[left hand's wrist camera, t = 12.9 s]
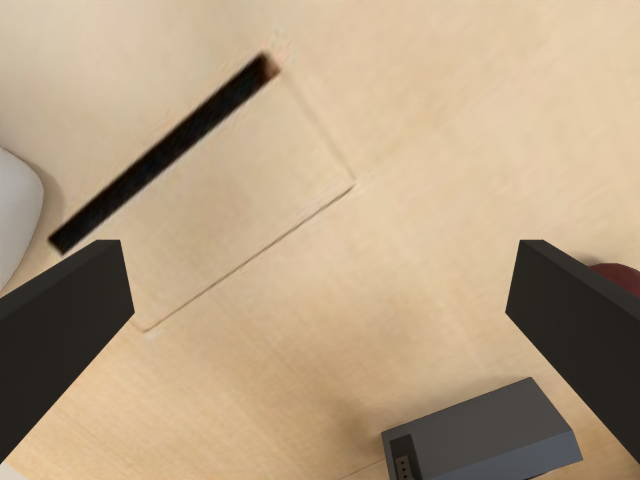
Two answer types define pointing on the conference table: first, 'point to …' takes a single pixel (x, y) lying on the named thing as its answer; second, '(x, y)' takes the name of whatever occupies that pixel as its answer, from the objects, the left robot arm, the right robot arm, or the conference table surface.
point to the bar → (491, 437)
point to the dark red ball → (620, 276)
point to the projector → (17, 211)
